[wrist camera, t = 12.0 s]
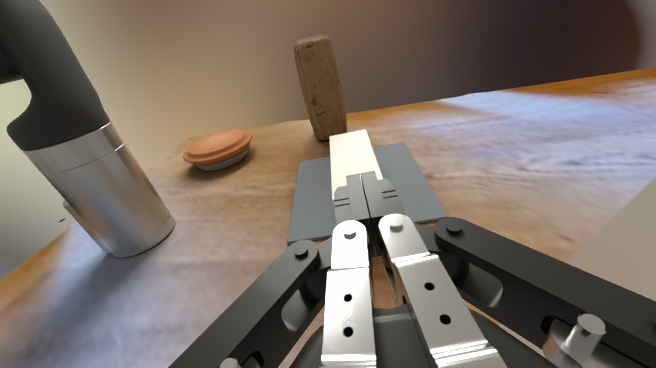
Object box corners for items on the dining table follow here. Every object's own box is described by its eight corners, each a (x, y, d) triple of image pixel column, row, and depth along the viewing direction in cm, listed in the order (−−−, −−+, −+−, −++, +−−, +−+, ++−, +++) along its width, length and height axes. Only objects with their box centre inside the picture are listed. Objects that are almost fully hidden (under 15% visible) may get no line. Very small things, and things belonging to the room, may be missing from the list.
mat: (287, 244, 35) (286, 241, 35) (300, 163, 54) (299, 161, 53) (448, 218, 33) (448, 216, 33) (403, 144, 52) (403, 142, 51)
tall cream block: (332, 199, 30) (329, 136, 45) (341, 239, 33) (336, 167, 48) (387, 190, 29) (365, 129, 45) (391, 231, 33) (369, 161, 48)
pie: (268, 142, 67) (261, 123, 65) (232, 176, 55) (222, 154, 53) (218, 145, 73) (210, 127, 70) (176, 177, 61) (164, 157, 58)
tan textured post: (351, 136, 60) (334, 33, 49) (318, 145, 59) (293, 43, 49) (338, 121, 69) (322, 32, 58) (310, 129, 68) (288, 41, 58)
